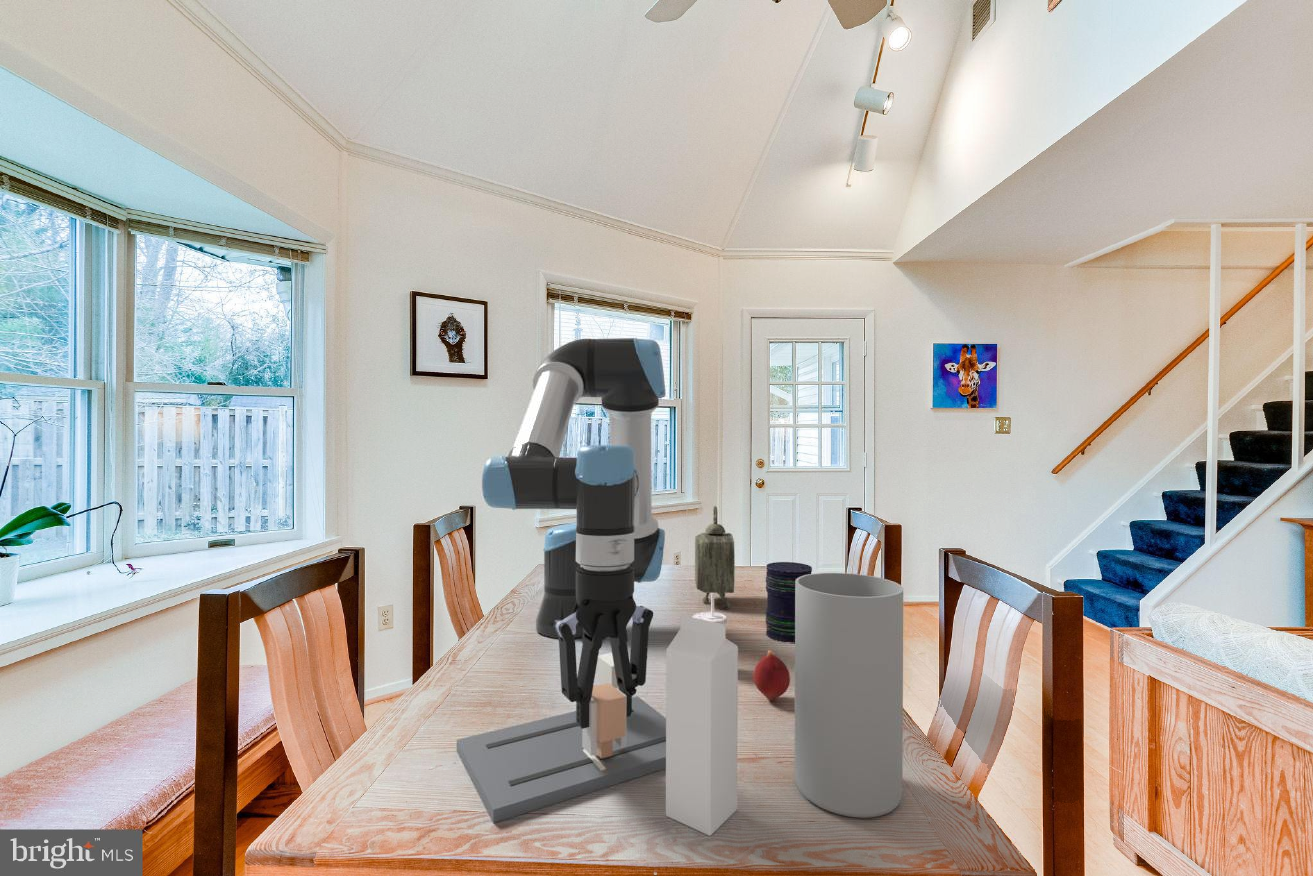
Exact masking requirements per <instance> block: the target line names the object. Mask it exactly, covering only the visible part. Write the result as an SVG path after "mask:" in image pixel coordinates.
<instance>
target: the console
mask: <svg viewBox="0 0 1313 876" xmlns="http://www.w3.org/2000/svg"><path fill="white" fill-rule="evenodd" d="M456 752H457V754H458V756H459V758H460V760H461V762H462V764H463V766H464V768H465V770H466V772H467V774H468V776H469V777H470V780H471V782H472V784H473V786H474V788H475V790H476V792H477V793H478V795H479V797H480V800H481V802H482V804H483V806H484V808H485V810H486V811H487V814H488V815H489V817H490V819H491V821H492V823H493V824H496V823H498V822H501V821H504V820H508V819H511V818H514V817H518V816H521V815H524V814H526V813H530V812H533V811H536V810H539V809H541V808H545V807H548V806H552V805H555V804H558V803H561V802H564V801H568V800H571V799H574V798H577V797H580V796H583V795H587V794H590V793H593V792H596V791H598V790H603V789H605V788H609V787H612V786H615V785H618V784H621V783H624V782H627V781H630V780H634V779H636V778H640V777H643V776H646V775H650V774H652V773H656V772H658V771H663V770H666V716H664V715H663V714H661V713H660V712H659V711H657V710H656V709H655V708H654V707H652V706H651V705H649V704H648V703H647V702H645V701H644V699H642V698H640V697H639V696H638V695H636V696H632V713H631V716H629V717H626V746H624V747H620V746H619V745H618V744H617V743H616V742H615V741H614V740H613V756H609V757H606V758H602V759H601V758H600V757H599V756H598V755H597V754H596V755H593V756H591V755H590V754H589V753H588V752H587V751H586V750H585V749H584V748H583V747H582V728H581V727H580V726H579V725H578V724H577V721H576V710H575V711H570V712H566V713H562V714H558V715H554V716H550V717H545V718H542V719H537V720H533V721H528V722H524V723H521V724H516V725H512V726H509V727H504V728H500V729H499V728H498V729H495V730H492V731H488V732H483V733H478V734H475V735H472V736H471V735H470V736H466V737H463V738H459V739H456Z"/></svg>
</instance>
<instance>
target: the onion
mask: <svg viewBox="0 0 1313 876" xmlns="http://www.w3.org/2000/svg"><path fill="white" fill-rule="evenodd" d="M752 675H753V676H752V678H753V683H754V684H755V687H756V689H757V690H758V691H759V692H760V693H761V694H762V695H763V696H765V698H766V699H767V700H768V701H774V700H776V699H778V698H779V697H781V696H782V695H784V694H785V693H787V690H788V688H789V686H790V682H791V676H790V671H789V669H788V667H787V665H786V664H785V663H784V662H783V660H781V659H780V658H779V657H778V656H777V655H776V654H775V653H774V652H773V651H772V650H767V655H766V656H764V657H763V658H761V659H760V660H759V661H758V662H757V664H756V666H755V667H754V671H753V673H752Z"/></svg>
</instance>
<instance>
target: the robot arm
mask: <svg viewBox="0 0 1313 876" xmlns="http://www.w3.org/2000/svg"><path fill="white" fill-rule="evenodd" d="M532 387H533V392H532V395H531V398H530V399H529V402H528V405H527V408H526V410H525V412H524V416H523V417H522V421H521V423H520V425H519V428H518V431H517V432H516V434H515V435H516V436H515V438H514V440H513V442H512V446H511V448H510V451H509V453H508V455H507V456H505V455H501V456H498V457H497V456H496V457H490V458H489V459H487V461H486V462H485V464H484V466H483V470H482V476H481V489H482V490H481V491H482V495H483V499H484V502H485V503H486V505H487V506H489V507H490V508H493V509H495V508H496V509H511V510H512V511H517V510H576V522H570V523H566V524H560V525H556V526H553V527H551V528H549V529H547V531H546V533H545V535H544V548H543V553H544V554H543V555H544V556H543V557H544V558H543V561H544V562H543V563H544V564H543V567H544V569H543V570H544V571H543V573H544V578H543V579H544V580H543V582H544V584H543V585H544V587H543V590H544V592H543V597H542V600H541V603H540V607H539V608H538V609H539V610H538V613H537V616H536V620H535V631H536V630H537V631H538V632H537V631H536V632H537V633H538V634H539V633H541V634H542V636H544V635H545V637H548V636H549V637H548V638H554V639H558V649H559V650H558V651H559V652H558V653H559V666H560V685H561V688H560V689H561V694H562V695H564V697H565V698H566V699H567V700H569V702H571V703H574V702H575V705H576V707H575V708H576V709H575V711H576V721H577V724H578V725H579V726H580V727H581V728H582V747H583V748H584V749H585V750H586V751H587V752H588V753H589V754H590V755H591V756H593V755H596V754H597V703H596V702H595V701H594V700H593V699H592V698H591V697H592V691H593V686H595V685H594V683H595V679H596V678H595V676H596V673H597V660H598V655H599V654H600V650H601V649H602V646H603V640H605V639H608V640H609V641H610V646H611V647H610V649H611V653H612V655H613V661H614V667H615V674H616V680H617V685H618V687H619V689H617V688H616V689H617V690H618V691H619V692H620V693H622V694H623V695H624V696H626V717H629V716H631V713H632V697H634V696H635V695H636V693H637V691H638V690H637V687H639V686H640V687H641V686H642V687H643V686H644V685H645V684H646V680H647V664H648V663H647V662H648V648H649V646H648V644H649V630H650V629H649V628H650V627H651V624H652V623H651V622H652V620H653V618H654V611H653V610H651V609H649V608H648V607H645V606H644V605H640V606H639V605H637V604H636V602H635V599H634V592H635V582H636V583H638V584H641V583H643V582H644V583H646V582H647V583H648V582H654V581H657V580H658V579H659V578H660V575H661V570H662V566H663V560H664V549H665V542H666V541H665V540H666V531H665V529H662V528H660V527H659V521H658V520H657V519H656V518H655V517H654V516H653V515H652V513H653V512H652V511H653V510H652V413H653V412H654V411H656V410H657V408H658V407H659V405H660V404H659V403H660V402H659V400H660V399H662V398H665V397H666V394H667V393H666V384H665V373H664V366H663V358H662V352H661V346H660V345H659V343H658V342H657V341H656V340H654V339H646V338H645V339H644V338H637V337H634V338H633V337H631V338H630V337H628V338H626V337H623V338H621V337H620V338H580V339H576V340H572V341H569V342H567V343H565V344H563V345H561V346H559V347H558V348H556V349H555V350H553V351H552V352H551V353H550V354H548V355H547V356H546V357H545V358H544V359H543V360H542V361H541V362H540V364H539V365H538V367H537V368H536V371H535V373H534V375H533V379H532ZM581 398H601V408H603V410H604V411H605V412H607V413H608V414H609V441H610V442H609V444H607V445H606V444H598V445H597V444H590V445H586V444H585V445H582V446H580V447H579V448H578V450H577V453H576V457H562V456H561V457H560V454H561V452H562V448H563V444H564V442H565V437H566V434H567V430H568V427H569V423H570V419H571V415H572V413H573V408H574V405H575V404H576V403H577V402H579V401H580V400H581ZM631 620H632V625H631V633H630V634H631V636H630V651H628V650H629V649H628V641H629V638H628V631H627V626H628V624H629V622H630V621H631ZM541 634H540V635H541ZM576 638H577V639H578V638H581V642H582V645H581V653H580V659H579V664H578V666H577V653H576V652H577V649H576ZM629 652H630V654H629ZM629 660H630V661H629ZM577 667H578V668H577ZM577 670H578V671H577ZM613 740H614V741H615V742H616V743H617V744H618V745H619V746H620V747H624V746H626V733H625V736H624V737H620V738H616V739H613Z"/></svg>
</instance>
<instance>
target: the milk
mask: <svg viewBox="0 0 1313 876" xmlns="http://www.w3.org/2000/svg"><path fill="white" fill-rule="evenodd" d="M726 631H727V630H726V625H725V626H724V624H720V623H715V622H711V621H706V620H702V619H697V618H693V616H688V615H682V616H681V617H680V629H679V630H678V632H677V633H676V635H675V637H674V638H673V639H672V640H671V642H670V644H669V645H668V647H667V648H666V662H665V663H666V674H665V676H666V679H665V681H666V687H665V688H666V689H665V691H666V693H665V695H666V697H665V698H666V699H665V701H666V703H665V707H666V708H665V712H666V713H665V718H666V769H665V816H666V817H668V818H670V819H672V820H675V821H676V822H679V823H681V824H684V825H686V826H687V827H689V828H692V829H694V830H696V831H698V832H700V833H703V835H707V836H709V837H710V836H712V835H713V834H714V833H715V832H716V831H717V830H718V829H719V828H720V827H721V826H722V825H723V824H724V823H725V822H726V821H728V819H729V818H730V817H731V816H733V814H735V812H736V811H738V733H739V732H738V731H739V730H738V722H739V721H738V719H739V718H738V715H739V714H738V713H739V712H738V711H739V709H738V707H739V706H738V705H739V703H738V702H739V699H738V696H739V694H738V693H739V691H738V690H739V685H738V684H739V647H738V645H737V644H735V643H733V642H732V641H730V640H729V639H727V638H726Z"/></svg>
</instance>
